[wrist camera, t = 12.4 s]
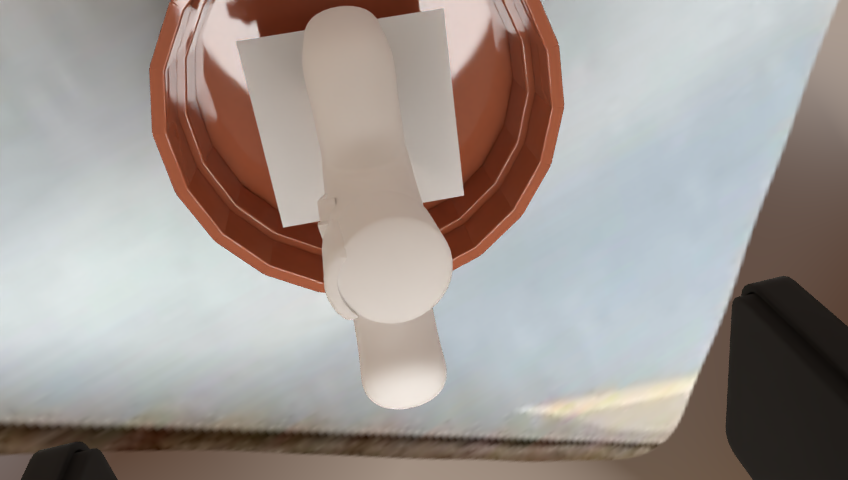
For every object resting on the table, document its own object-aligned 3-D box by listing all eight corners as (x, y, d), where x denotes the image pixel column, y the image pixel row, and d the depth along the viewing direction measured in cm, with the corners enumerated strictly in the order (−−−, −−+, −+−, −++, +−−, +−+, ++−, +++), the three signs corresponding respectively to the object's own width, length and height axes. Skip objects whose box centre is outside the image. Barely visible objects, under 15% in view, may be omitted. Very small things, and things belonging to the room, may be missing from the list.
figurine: (424, -37, 27) (531, 44, 14) (451, 185, 31) (551, 407, 18) (238, -8, 26) (162, 104, 13) (291, 213, 31) (275, 461, 18)
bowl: (118, -66, 25) (78, -55, 21) (504, -147, 26) (542, -152, 22) (239, 268, 32) (228, 329, 28) (541, 199, 33) (577, 248, 29)
